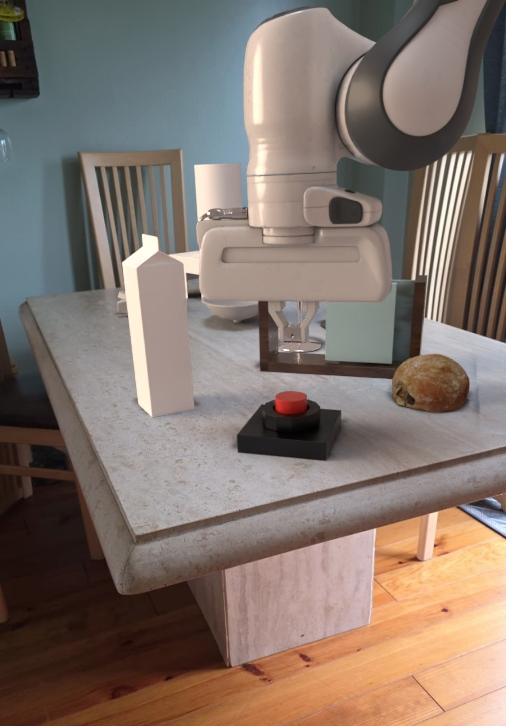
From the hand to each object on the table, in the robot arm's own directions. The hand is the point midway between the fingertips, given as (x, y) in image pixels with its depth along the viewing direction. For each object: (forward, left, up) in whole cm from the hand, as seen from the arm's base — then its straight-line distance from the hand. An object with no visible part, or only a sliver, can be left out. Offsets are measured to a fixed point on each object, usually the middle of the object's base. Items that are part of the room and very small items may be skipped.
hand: (294, 341), depth 68 cm
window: (-4, -27, -10) cm, 29 cm away
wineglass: (+8, -40, -12) cm, 42 cm away
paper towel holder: (+38, -86, -12) cm, 95 cm away
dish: (+25, -57, -12) cm, 63 cm away
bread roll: (-15, -17, -12) cm, 25 cm away
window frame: (-1, -28, -12) cm, 30 cm away
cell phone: (0, -57, -12) cm, 58 cm away
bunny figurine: (+50, -62, -12) cm, 81 cm away
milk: (+19, -7, -12) cm, 24 cm away
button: (0, 0, -8) cm, 8 cm away
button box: (0, 0, -12) cm, 12 cm away
